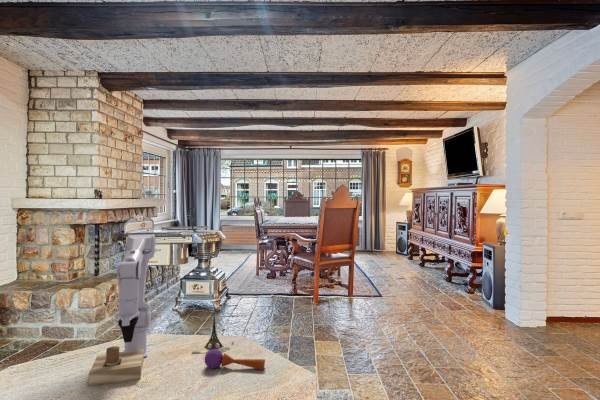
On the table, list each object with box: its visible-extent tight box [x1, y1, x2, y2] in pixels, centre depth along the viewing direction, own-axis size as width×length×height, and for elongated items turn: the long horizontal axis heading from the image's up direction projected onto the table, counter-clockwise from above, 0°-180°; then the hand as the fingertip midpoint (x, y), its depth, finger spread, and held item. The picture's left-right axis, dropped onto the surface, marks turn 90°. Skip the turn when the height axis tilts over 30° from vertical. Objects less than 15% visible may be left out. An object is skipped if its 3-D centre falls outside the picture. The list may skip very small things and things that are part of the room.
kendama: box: [204, 349, 266, 371], centre depth 117 cm, size 6×6×20 cm
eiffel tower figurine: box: [190, 315, 235, 355], centre depth 133 cm, size 15×10×13 cm
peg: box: [105, 345, 120, 367], centre depth 111 cm, size 4×4×8 cm
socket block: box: [88, 349, 144, 387], centre depth 113 cm, size 13×14×4 cm
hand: (128, 341), depth 113 cm, fingers closed
